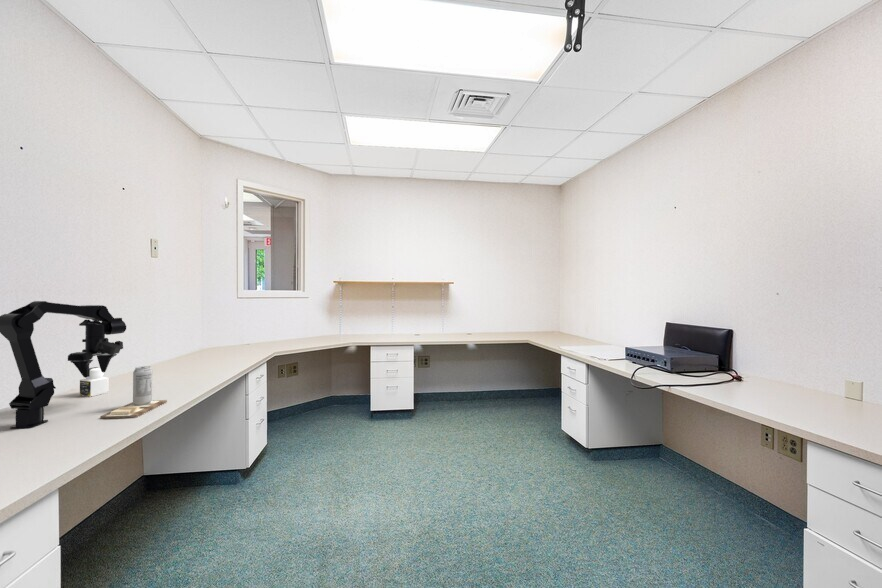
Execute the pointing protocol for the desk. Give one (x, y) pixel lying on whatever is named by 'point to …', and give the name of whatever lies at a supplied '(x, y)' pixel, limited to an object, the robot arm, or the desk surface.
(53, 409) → the desk surface
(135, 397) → the energy drink can
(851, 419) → the desk surface
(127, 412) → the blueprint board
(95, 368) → the medicine bottle
